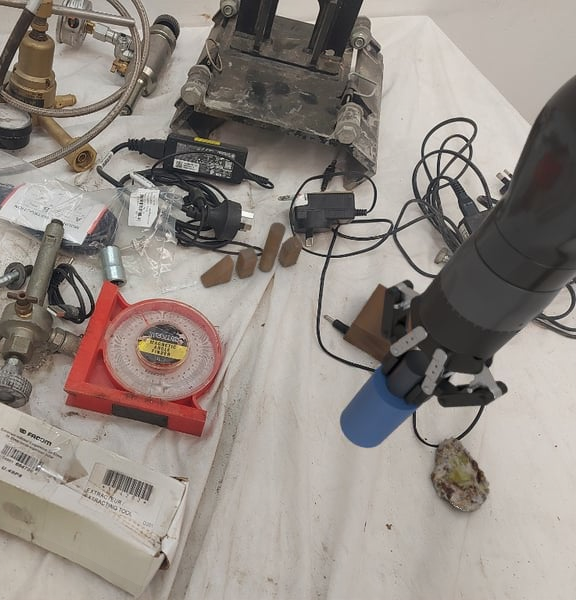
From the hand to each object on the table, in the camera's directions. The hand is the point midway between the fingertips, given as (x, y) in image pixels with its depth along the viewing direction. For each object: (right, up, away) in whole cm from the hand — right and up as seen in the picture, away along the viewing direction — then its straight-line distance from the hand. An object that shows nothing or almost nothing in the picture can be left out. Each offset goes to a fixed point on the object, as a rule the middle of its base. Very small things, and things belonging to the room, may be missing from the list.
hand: (401, 384), depth 60 cm
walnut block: (+11, +3, +36) cm, 38 cm away
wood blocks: (-14, +13, +41) cm, 45 cm away
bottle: (-1, -6, +9) cm, 11 cm away
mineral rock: (+17, -17, +24) cm, 34 cm away
